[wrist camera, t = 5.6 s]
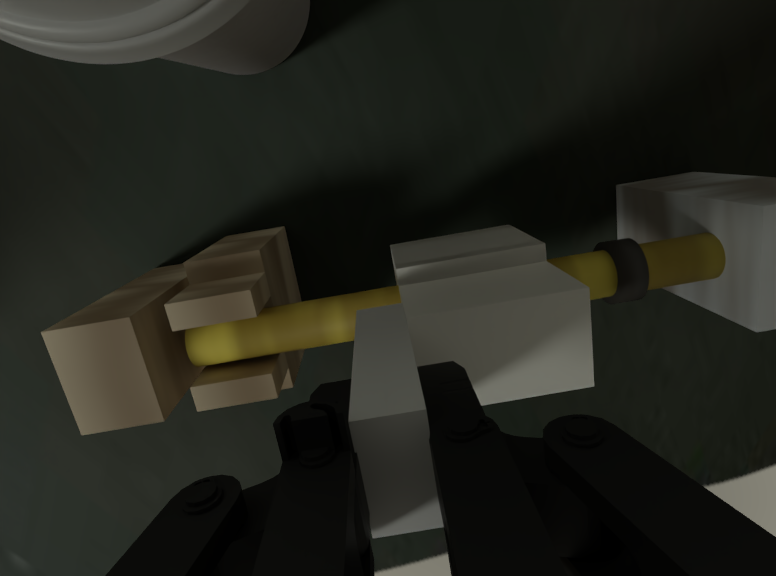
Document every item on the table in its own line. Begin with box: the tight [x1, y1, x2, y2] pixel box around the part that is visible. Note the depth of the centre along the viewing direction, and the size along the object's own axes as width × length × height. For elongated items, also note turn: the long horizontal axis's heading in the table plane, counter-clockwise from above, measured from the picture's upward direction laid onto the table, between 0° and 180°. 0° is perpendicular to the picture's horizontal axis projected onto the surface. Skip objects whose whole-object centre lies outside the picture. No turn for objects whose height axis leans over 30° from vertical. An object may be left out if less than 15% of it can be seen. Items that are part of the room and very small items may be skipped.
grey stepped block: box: [390, 225, 594, 406], centre depth 17 cm, size 5×4×7 cm
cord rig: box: [41, 172, 776, 435], centre depth 21 cm, size 28×6×10 cm, turn 99°
